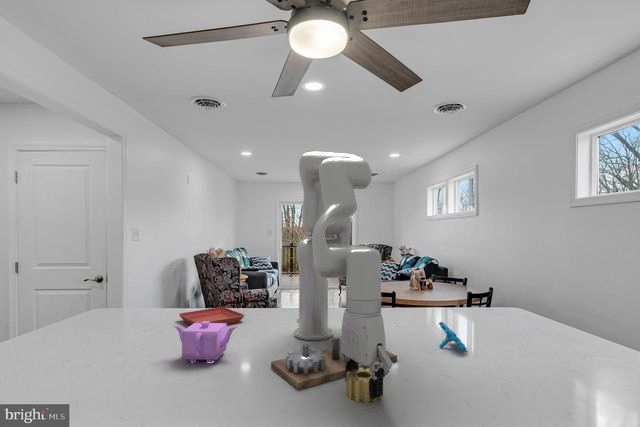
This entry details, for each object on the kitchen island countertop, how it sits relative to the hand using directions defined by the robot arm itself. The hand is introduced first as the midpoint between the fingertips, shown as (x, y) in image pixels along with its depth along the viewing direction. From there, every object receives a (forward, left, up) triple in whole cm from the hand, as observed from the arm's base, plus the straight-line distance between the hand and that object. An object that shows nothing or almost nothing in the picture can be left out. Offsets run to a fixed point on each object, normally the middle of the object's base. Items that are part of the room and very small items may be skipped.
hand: (363, 388), depth 75 cm
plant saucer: (-73, -12, -2) cm, 74 cm away
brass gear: (0, 0, -1) cm, 1 cm away
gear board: (-16, +4, -1) cm, 17 cm away
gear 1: (-16, -5, 0) cm, 17 cm away
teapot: (-39, -23, -1) cm, 45 cm away
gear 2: (-7, +40, -1) cm, 40 cm away
